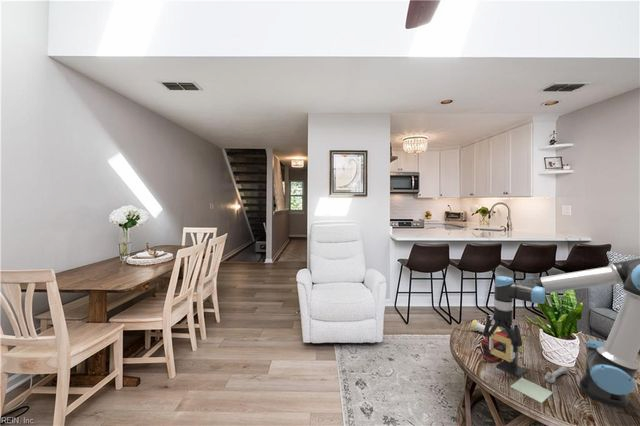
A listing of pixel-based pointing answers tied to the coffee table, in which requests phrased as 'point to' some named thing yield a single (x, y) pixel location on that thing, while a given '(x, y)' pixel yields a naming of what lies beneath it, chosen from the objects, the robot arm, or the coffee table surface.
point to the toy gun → (494, 346)
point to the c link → (508, 347)
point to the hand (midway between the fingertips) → (501, 353)
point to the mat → (531, 390)
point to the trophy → (479, 327)
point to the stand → (511, 365)
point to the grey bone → (555, 374)
